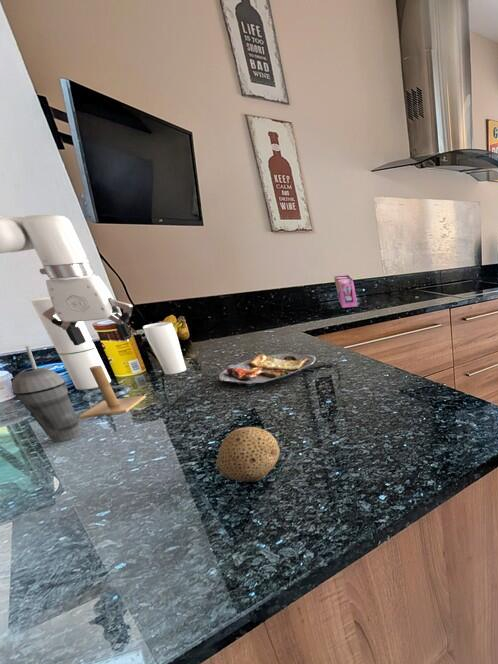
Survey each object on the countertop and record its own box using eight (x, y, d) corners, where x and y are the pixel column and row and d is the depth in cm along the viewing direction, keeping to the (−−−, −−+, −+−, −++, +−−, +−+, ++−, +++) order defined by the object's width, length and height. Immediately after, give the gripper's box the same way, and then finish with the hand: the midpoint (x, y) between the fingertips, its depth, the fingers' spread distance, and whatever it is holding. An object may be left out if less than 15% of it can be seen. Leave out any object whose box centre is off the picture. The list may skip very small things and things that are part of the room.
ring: (74, 406, 99) (72, 401, 98) (97, 392, 107) (95, 387, 106) (119, 400, 101) (116, 395, 101) (138, 387, 109) (136, 382, 109)
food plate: (201, 384, 110) (196, 372, 109) (270, 357, 130) (267, 347, 129) (270, 392, 103) (266, 380, 102) (332, 363, 123) (329, 352, 122)
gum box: (358, 306, 203) (353, 280, 198) (342, 308, 200) (336, 281, 195) (353, 299, 223) (348, 275, 218) (338, 301, 220) (333, 276, 214)
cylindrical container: (113, 379, 115) (73, 294, 105) (111, 386, 110) (68, 297, 100) (79, 386, 111) (34, 297, 101) (75, 393, 106) (27, 301, 96)
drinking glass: (156, 376, 117) (135, 327, 111) (178, 368, 123) (160, 321, 117) (173, 377, 115) (154, 328, 109) (195, 369, 121) (178, 322, 115)
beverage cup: (44, 437, 84) (-8, 348, 76) (91, 424, 89) (47, 340, 81) (40, 449, 80) (-15, 356, 72) (90, 435, 84) (43, 347, 76)
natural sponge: (295, 478, 68) (280, 428, 64) (236, 505, 62) (216, 452, 58) (276, 459, 74) (261, 412, 70) (220, 482, 67) (200, 432, 64)
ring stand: (80, 420, 91) (57, 376, 87) (104, 404, 99) (84, 363, 94) (127, 414, 93) (107, 370, 89) (147, 399, 101) (129, 358, 97)
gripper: (10, 277, 87) (50, 350, 94) (105, 270, 91) (136, 341, 98) (36, 273, 93) (72, 341, 100) (124, 267, 98) (152, 333, 105)
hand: (104, 341), depth 99 cm, fingers open, 9 cm apart
